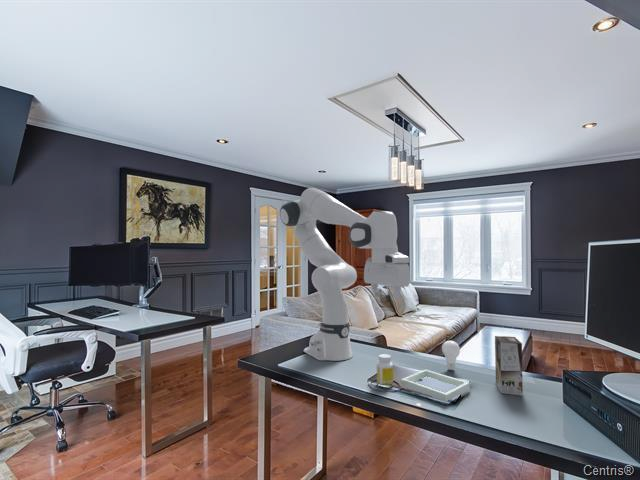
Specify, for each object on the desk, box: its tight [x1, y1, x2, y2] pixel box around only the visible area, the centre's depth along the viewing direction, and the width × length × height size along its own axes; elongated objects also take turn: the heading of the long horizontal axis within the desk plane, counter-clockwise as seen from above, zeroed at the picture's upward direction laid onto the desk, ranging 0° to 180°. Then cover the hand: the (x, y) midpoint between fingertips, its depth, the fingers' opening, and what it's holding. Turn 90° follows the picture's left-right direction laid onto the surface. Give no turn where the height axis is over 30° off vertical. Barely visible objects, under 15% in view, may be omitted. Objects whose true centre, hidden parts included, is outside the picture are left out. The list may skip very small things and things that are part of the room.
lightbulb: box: [441, 340, 461, 372], centre depth 128 cm, size 6×6×11 cm
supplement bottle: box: [376, 353, 394, 385], centre depth 114 cm, size 5×5×10 cm
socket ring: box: [367, 382, 396, 393], centre depth 114 cm, size 11×11×1 cm
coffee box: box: [494, 335, 524, 396], centre depth 111 cm, size 9×6×16 cm
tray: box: [400, 368, 471, 402], centre depth 110 cm, size 16×14×3 cm
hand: (385, 298), depth 116 cm, fingers open, 8 cm apart
